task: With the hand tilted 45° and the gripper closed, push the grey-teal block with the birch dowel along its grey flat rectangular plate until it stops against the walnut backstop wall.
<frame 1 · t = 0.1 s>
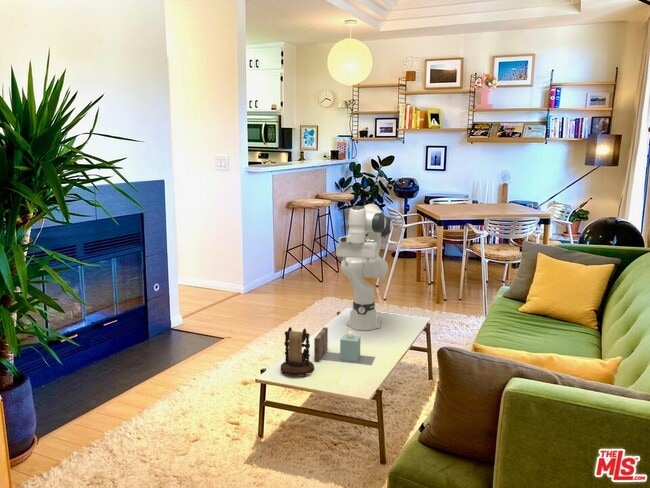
hand: (355, 266, 267), 39 cm above the table, tool pointing down, fingers open, 8 cm apart
grey flat rectangular plate: (348, 360, 250), on the table
scroll: (297, 371, 238), on the table
dowel block: (350, 345, 249), point 7 cm above the table, slide at 0.0 cm
backstop wall: (321, 357, 254), on the table
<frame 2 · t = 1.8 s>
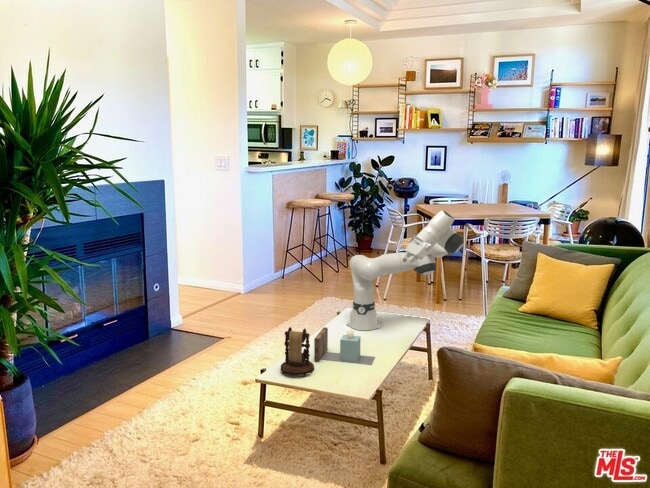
hand: (405, 262, 247), 45 cm above the table, tool tilted 40°, fingers open, 8 cm apart
nothing on the table moved.
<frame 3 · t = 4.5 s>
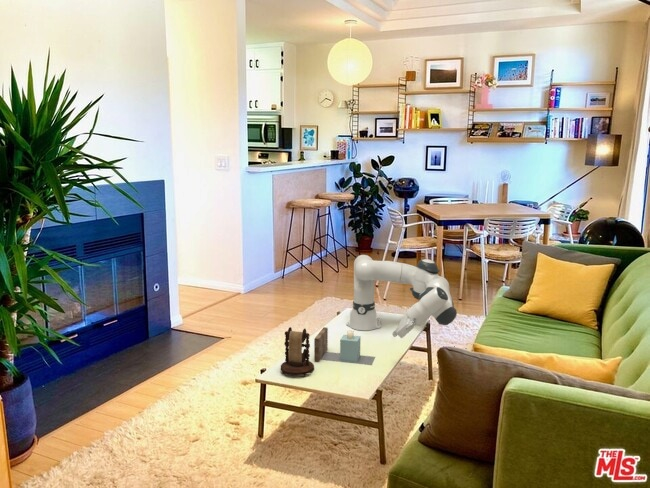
hand: (393, 334, 242), 14 cm above the table, tool tilted 45°, fingers closed
nothing on the table moved.
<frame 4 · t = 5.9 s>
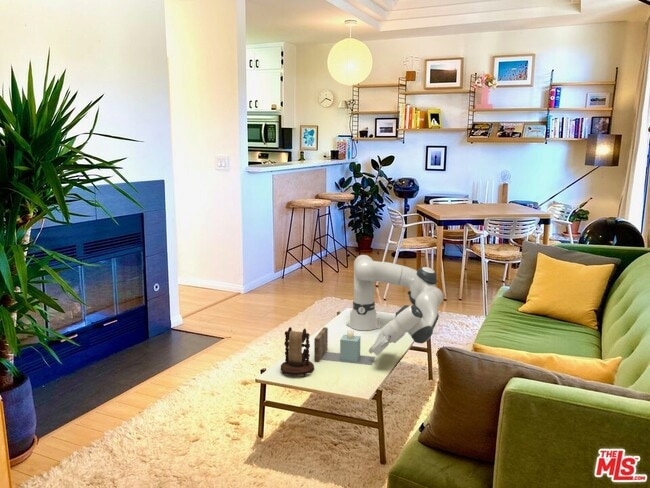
hand: (370, 351, 247), 5 cm above the table, tool tilted 45°, fingers closed
nothing on the table moved.
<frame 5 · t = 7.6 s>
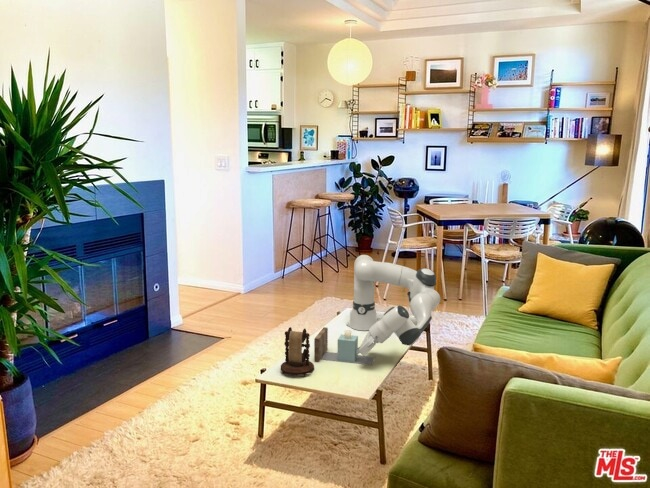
hand: (357, 351, 248), 5 cm above the table, tool tilted 45°, fingers closed, pressing on dowel block
dowel block: (347, 344, 249), point 7 cm above the table, slide at 1.3 cm, touching gripper
everything else where it was.
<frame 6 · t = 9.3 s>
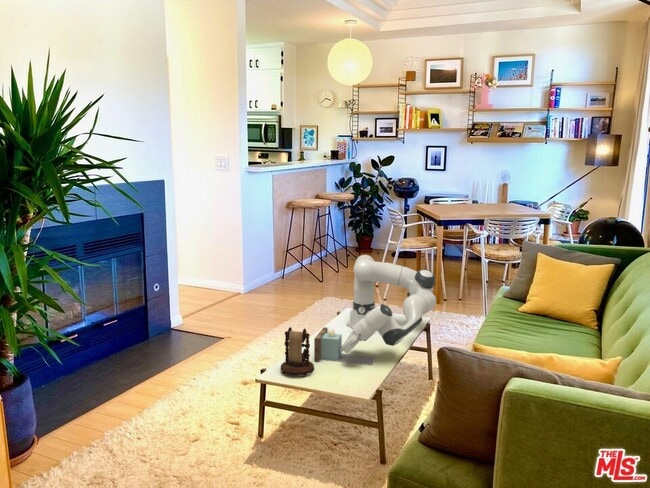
hand: (341, 349, 250), 5 cm above the table, tool tilted 45°, fingers closed, pressing on dowel block
dowel block: (331, 343, 251), point 7 cm above the table, slide at 9.0 cm, touching backstop wall, gripper
everything else where it was.
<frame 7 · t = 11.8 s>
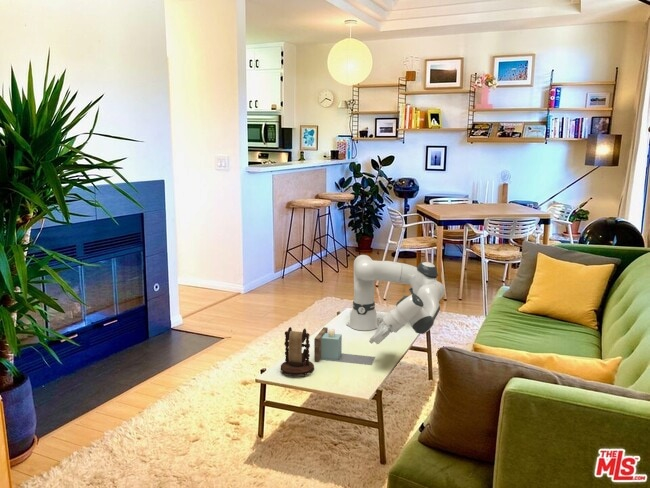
hand: (370, 341, 246), 10 cm above the table, tool tilted 45°, fingers closed
dowel block: (331, 343, 251), point 7 cm above the table, slide at 9.0 cm, touching backstop wall
everything else where it was.
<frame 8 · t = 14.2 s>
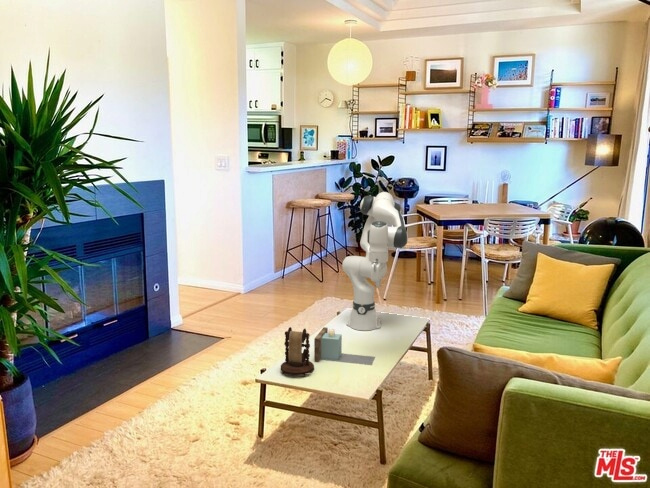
hand: (377, 286, 249), 34 cm above the table, tool pointing down, fingers closed
nothing on the table moved.
at the end: dowel block slide at 9.0 cm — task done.
